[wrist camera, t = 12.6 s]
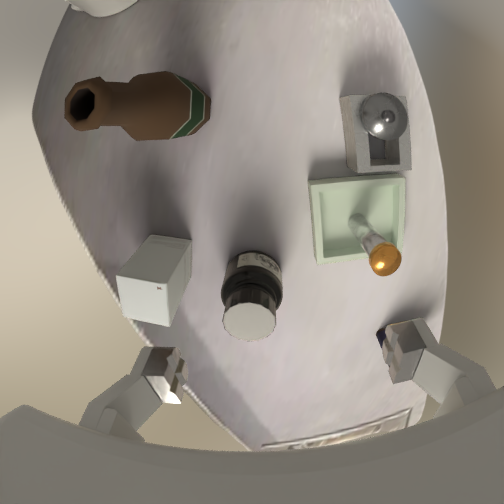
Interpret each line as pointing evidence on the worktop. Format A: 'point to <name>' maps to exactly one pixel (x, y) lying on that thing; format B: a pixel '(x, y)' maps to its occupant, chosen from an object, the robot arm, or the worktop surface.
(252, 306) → the ink bottle
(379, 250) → the pin
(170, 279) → the supplement box
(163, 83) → the beer bottle
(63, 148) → the worktop surface
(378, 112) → the block
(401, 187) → the tray
